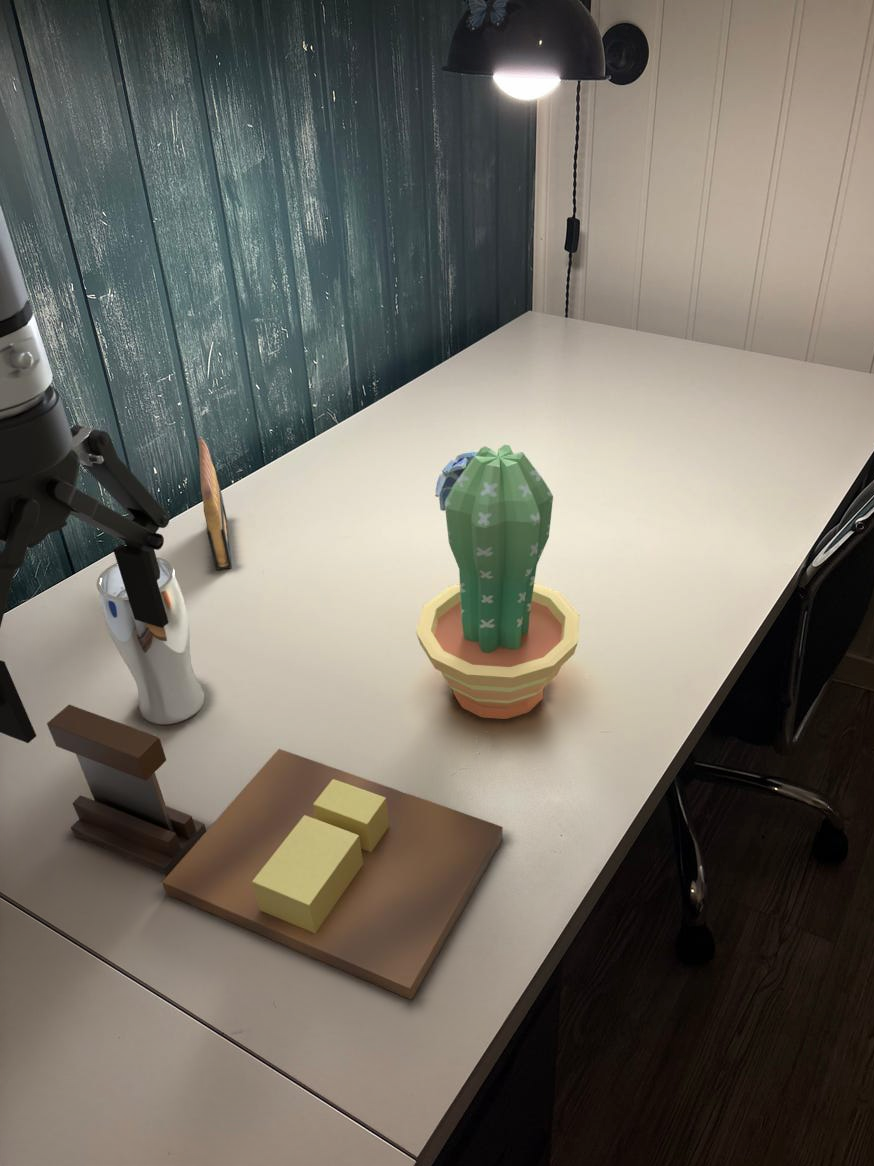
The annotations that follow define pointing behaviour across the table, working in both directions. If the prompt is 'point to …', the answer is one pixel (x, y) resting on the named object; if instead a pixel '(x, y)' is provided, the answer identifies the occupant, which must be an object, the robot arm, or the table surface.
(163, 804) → the cleaver
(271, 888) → the butter
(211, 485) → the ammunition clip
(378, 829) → the butter pat
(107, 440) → the robot arm
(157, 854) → the knife holder
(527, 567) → the potted cactus
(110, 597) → the beer glass
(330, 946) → the board
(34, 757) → the table surface
